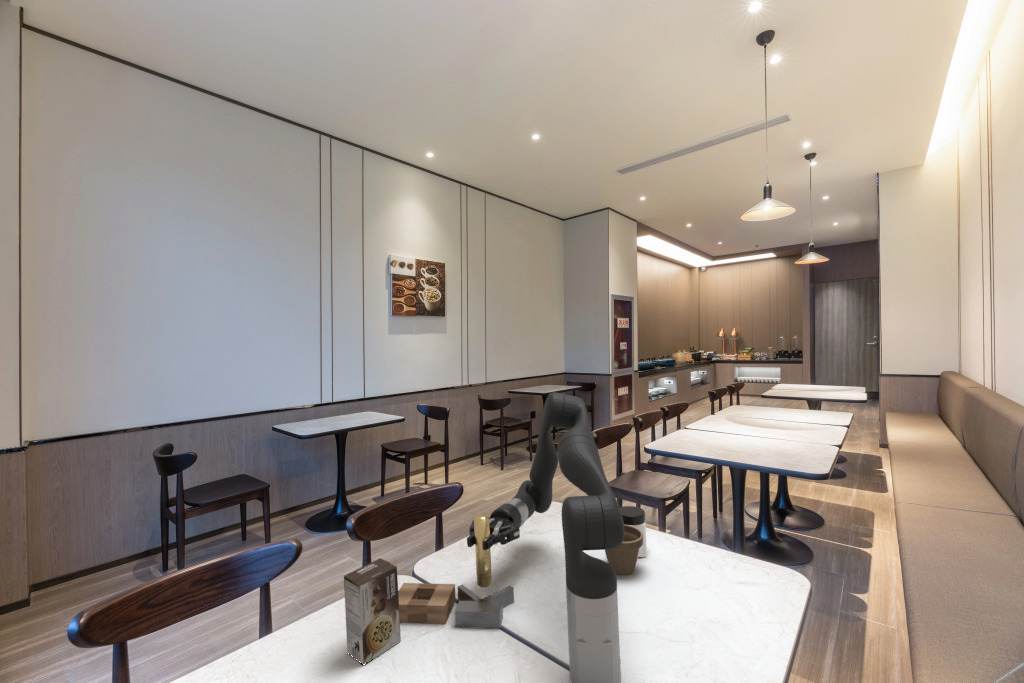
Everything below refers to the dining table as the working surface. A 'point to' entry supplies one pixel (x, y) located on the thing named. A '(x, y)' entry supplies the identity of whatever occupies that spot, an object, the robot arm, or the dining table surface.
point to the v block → (482, 608)
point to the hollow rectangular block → (426, 602)
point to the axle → (482, 555)
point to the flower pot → (626, 551)
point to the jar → (636, 523)
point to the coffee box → (372, 610)
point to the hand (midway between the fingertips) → (476, 544)
